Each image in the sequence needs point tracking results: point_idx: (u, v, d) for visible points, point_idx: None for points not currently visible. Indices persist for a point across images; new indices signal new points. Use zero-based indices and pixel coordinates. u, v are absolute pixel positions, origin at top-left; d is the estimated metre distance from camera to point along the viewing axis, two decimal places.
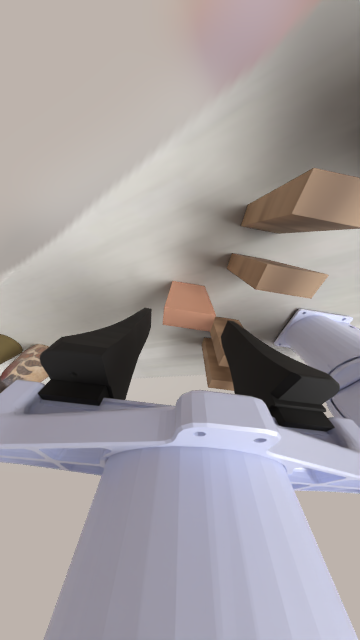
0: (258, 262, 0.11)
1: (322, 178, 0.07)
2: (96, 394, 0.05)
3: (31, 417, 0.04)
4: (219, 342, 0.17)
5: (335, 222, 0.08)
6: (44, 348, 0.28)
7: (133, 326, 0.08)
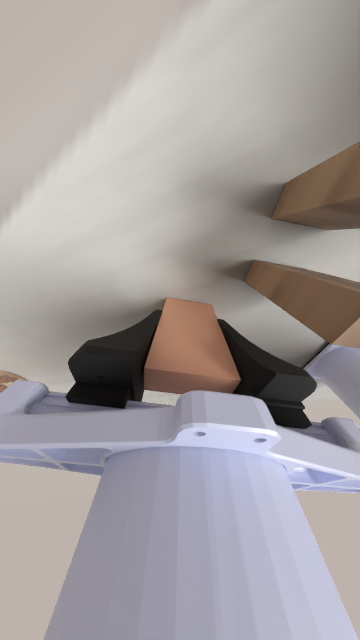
0: (335, 287, 0.05)
1: None
2: (122, 397, 0.05)
3: (31, 417, 0.04)
4: None
5: None
6: (7, 376, 0.22)
7: (150, 328, 0.08)
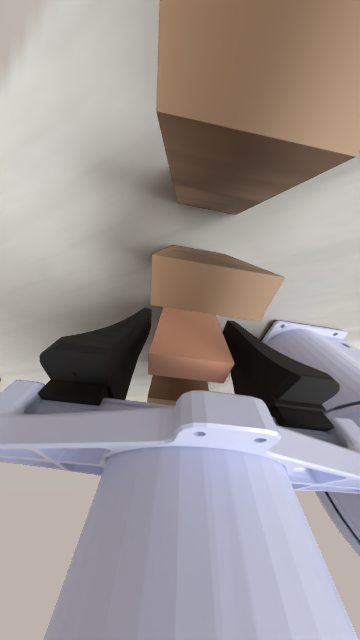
0: None
1: None
2: (96, 394, 0.05)
3: (31, 417, 0.04)
4: None
5: (280, 140, 0.03)
6: None
7: (133, 326, 0.08)
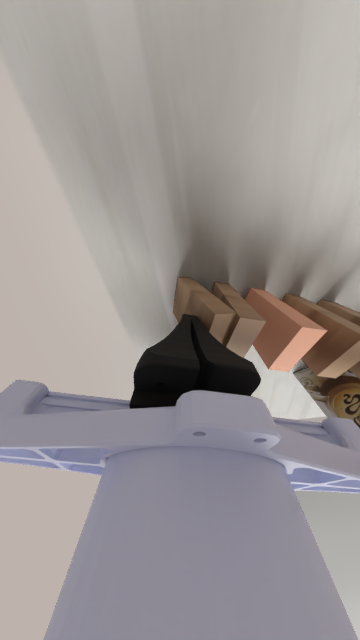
0: None
1: None
2: None
3: (31, 417, 0.04)
4: (250, 307, 0.11)
5: None
6: None
7: (190, 334, 0.08)
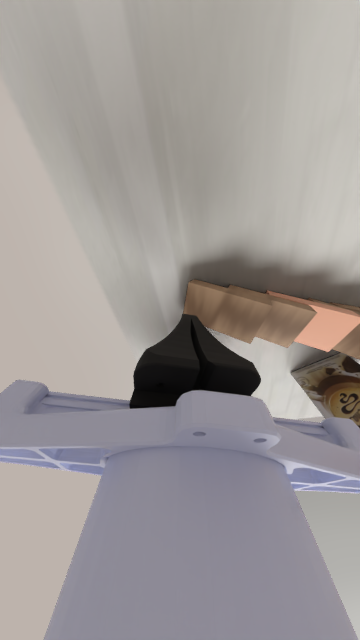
0: None
1: None
2: None
3: (31, 417, 0.04)
4: (287, 300, 0.15)
5: None
6: None
7: (189, 334, 0.08)
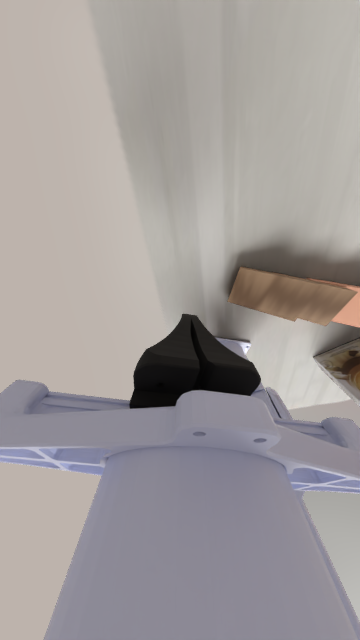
0: None
1: None
2: None
3: (31, 417, 0.04)
4: None
5: None
6: None
7: (189, 334, 0.08)
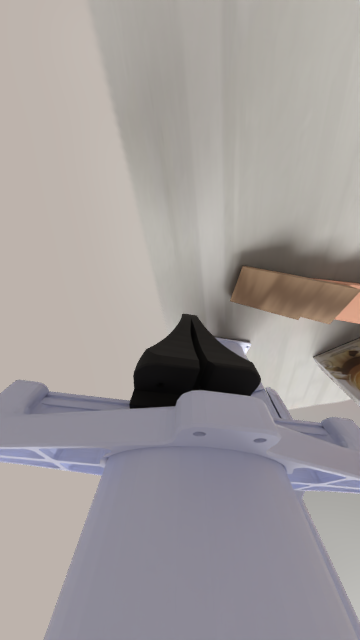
0: None
1: None
2: None
3: (31, 417, 0.04)
4: (329, 282, 0.17)
5: None
6: None
7: (189, 334, 0.08)
